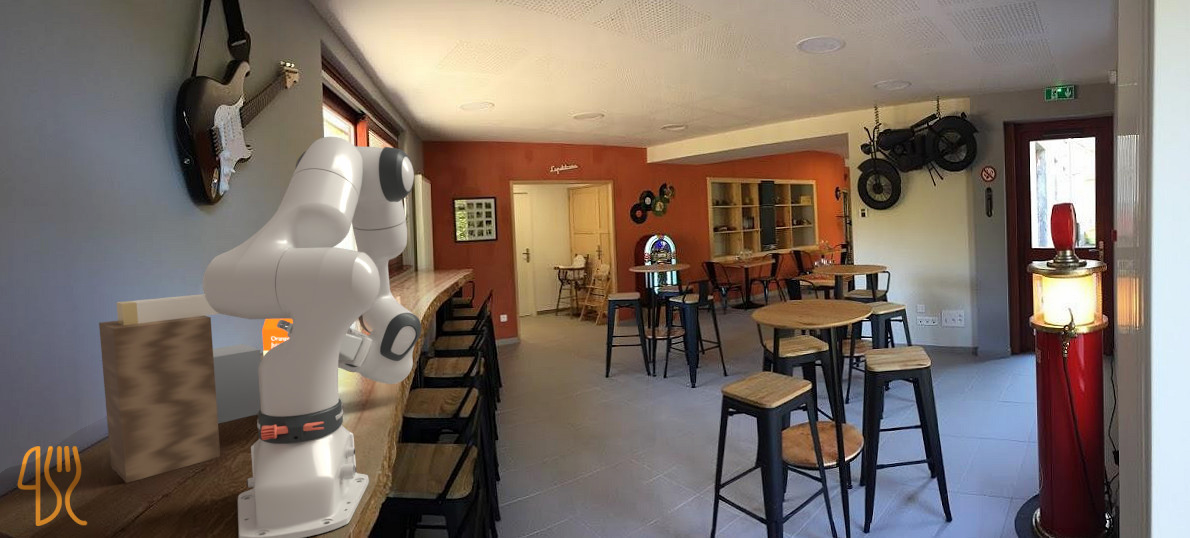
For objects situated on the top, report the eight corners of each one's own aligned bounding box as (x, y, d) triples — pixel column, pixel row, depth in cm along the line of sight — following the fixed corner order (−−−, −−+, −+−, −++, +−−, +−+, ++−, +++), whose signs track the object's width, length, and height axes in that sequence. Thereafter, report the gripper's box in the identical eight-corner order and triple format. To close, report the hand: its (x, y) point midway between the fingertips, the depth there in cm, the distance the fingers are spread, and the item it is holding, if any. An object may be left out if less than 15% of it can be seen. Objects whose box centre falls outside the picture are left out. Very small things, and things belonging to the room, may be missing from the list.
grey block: (246, 404, 143) (242, 344, 142) (264, 412, 137) (260, 349, 135) (198, 415, 135) (193, 351, 134) (214, 424, 129) (210, 357, 128)
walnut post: (201, 444, 118) (191, 312, 115) (220, 456, 111) (210, 317, 109) (111, 467, 107) (99, 322, 105) (126, 483, 100) (113, 328, 98)
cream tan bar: (243, 308, 119) (242, 290, 119) (251, 310, 117) (250, 291, 117) (118, 322, 104) (116, 302, 104) (123, 325, 102) (121, 304, 102)
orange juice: (297, 381, 163) (292, 308, 161) (264, 381, 163) (260, 308, 161) (311, 374, 171) (307, 304, 169) (280, 374, 171) (276, 304, 169)
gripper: (329, 330, 142) (274, 307, 132) (376, 340, 129) (319, 315, 119) (317, 355, 140) (261, 334, 130) (363, 368, 127) (304, 345, 117)
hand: (289, 325), depth 124 cm, fingers open, 8 cm apart
